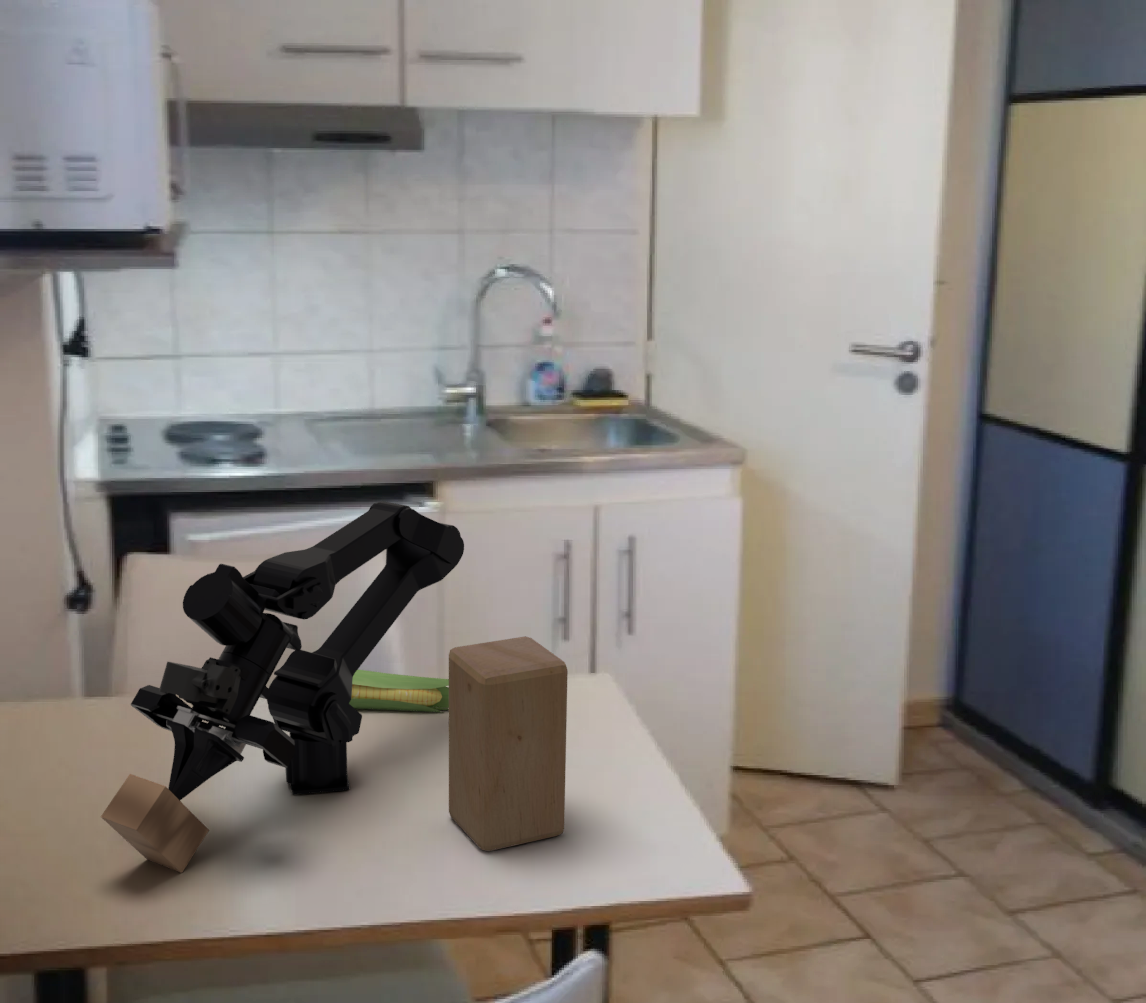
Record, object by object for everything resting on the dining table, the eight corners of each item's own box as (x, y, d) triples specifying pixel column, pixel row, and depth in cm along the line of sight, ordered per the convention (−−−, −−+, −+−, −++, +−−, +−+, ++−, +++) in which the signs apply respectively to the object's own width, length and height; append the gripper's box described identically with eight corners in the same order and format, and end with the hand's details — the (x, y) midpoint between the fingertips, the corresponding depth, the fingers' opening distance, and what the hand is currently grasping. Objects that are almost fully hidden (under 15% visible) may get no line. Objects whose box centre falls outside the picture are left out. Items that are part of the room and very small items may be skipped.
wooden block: (482, 856, 154) (483, 677, 149) (445, 816, 162) (445, 645, 157) (567, 837, 158) (571, 662, 153) (527, 799, 167) (529, 632, 162)
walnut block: (174, 817, 154) (129, 773, 148) (209, 830, 152) (165, 786, 145) (147, 859, 152) (100, 816, 145) (181, 873, 149) (136, 830, 143)
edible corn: (321, 665, 194) (313, 668, 190) (472, 677, 193) (467, 680, 188) (318, 704, 194) (310, 708, 190) (469, 716, 193) (464, 720, 188)
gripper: (139, 612, 155) (60, 745, 149) (273, 648, 146) (195, 791, 139) (197, 661, 163) (125, 789, 157) (327, 698, 154) (256, 835, 148)
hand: (172, 799), depth 150 cm, fingers closed
